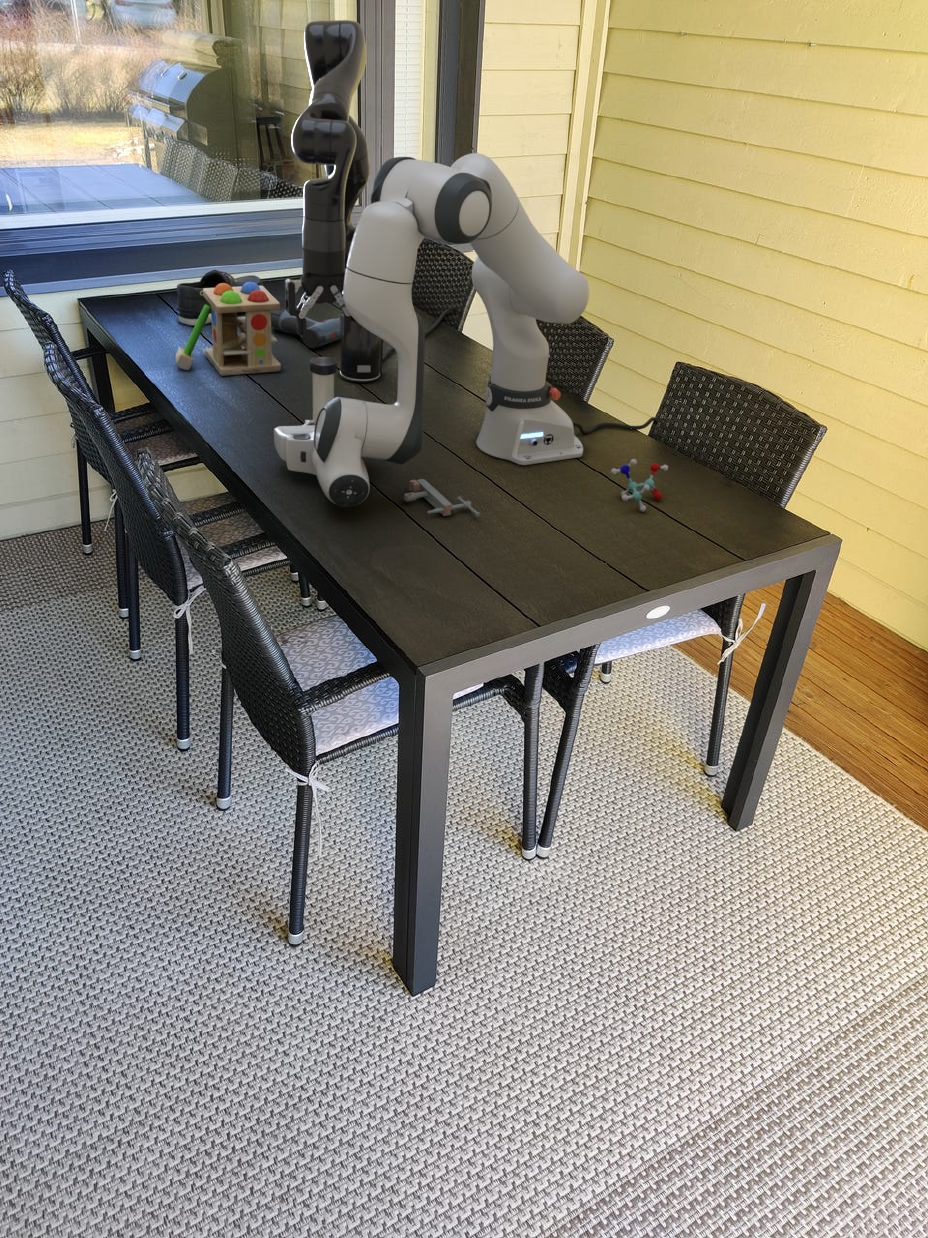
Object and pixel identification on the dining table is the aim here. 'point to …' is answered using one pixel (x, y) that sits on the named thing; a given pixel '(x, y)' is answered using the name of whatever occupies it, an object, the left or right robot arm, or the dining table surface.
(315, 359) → the lid
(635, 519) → the dining table surface
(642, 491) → the molecular model
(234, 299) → the pounding bench toy
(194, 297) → the boat shoe
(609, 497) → the dining table surface
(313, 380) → the white cylindrical bottle
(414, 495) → the clamp
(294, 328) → the power drill
